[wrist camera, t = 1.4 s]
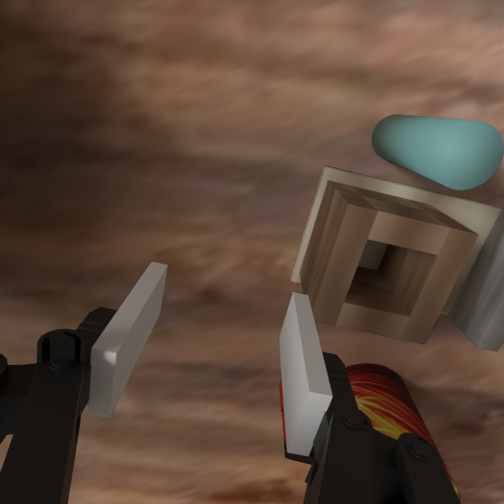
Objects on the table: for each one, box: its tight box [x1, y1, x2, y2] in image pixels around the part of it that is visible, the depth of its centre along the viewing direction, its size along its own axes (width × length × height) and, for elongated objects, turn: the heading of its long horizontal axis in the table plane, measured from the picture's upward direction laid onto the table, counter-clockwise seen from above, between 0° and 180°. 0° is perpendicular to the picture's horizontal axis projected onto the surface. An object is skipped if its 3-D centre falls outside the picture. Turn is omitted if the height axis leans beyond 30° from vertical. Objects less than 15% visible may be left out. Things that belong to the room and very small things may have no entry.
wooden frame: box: [290, 165, 504, 352], centre depth 32 cm, size 18×11×6 cm, turn 77°
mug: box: [280, 363, 460, 501], centre depth 36 cm, size 10×14×12 cm
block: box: [299, 180, 479, 344], centre depth 29 cm, size 9×9×8 cm
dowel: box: [372, 115, 504, 190], centre depth 25 cm, size 4×4×12 cm
